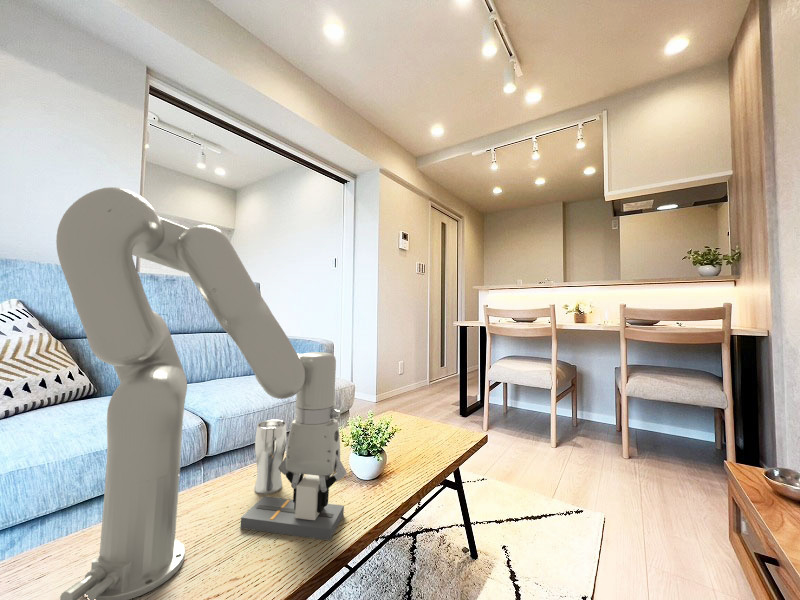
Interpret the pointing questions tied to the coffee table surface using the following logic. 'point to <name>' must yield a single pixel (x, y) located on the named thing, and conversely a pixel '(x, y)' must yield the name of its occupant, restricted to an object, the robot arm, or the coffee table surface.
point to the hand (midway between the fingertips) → (310, 506)
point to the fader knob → (307, 498)
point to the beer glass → (269, 455)
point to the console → (291, 519)
